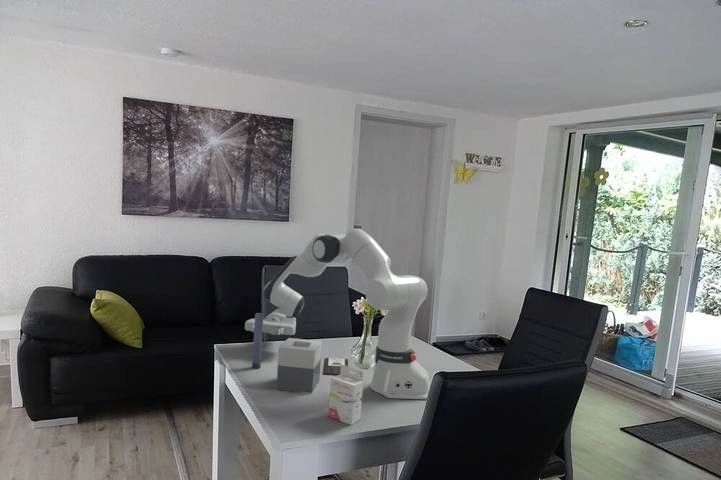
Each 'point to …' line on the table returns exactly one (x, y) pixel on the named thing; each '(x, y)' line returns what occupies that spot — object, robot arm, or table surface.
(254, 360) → the stylus
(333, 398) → the ink cartridge box
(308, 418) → the table surface
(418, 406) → the table surface
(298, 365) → the box
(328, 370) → the chocolate bar
